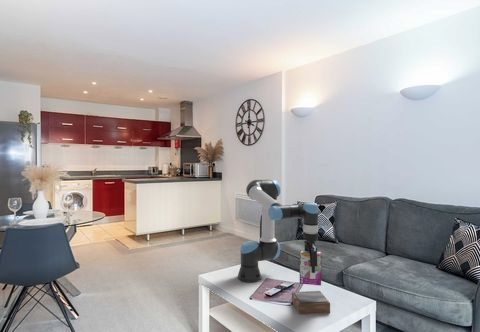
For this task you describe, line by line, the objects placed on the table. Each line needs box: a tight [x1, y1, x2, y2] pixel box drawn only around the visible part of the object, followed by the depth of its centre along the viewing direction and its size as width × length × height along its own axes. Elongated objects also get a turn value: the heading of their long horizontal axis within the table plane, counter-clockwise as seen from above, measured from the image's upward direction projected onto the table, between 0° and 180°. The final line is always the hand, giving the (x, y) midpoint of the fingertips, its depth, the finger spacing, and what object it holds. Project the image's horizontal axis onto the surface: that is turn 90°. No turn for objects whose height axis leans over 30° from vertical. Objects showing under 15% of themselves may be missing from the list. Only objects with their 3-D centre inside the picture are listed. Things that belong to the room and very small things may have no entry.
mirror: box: [291, 290, 331, 315], centre depth 158 cm, size 14×16×6 cm
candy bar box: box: [299, 250, 322, 286], centre depth 158 cm, size 11×5×16 cm, turn 77°
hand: (310, 275), depth 158 cm, fingers closed on candy bar box, 6 cm apart
